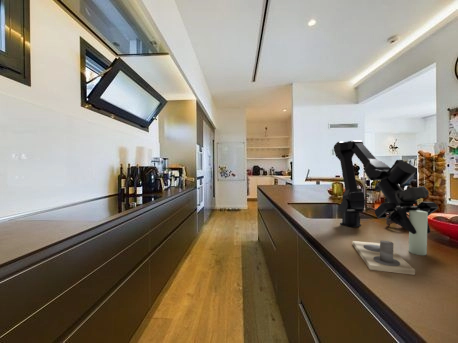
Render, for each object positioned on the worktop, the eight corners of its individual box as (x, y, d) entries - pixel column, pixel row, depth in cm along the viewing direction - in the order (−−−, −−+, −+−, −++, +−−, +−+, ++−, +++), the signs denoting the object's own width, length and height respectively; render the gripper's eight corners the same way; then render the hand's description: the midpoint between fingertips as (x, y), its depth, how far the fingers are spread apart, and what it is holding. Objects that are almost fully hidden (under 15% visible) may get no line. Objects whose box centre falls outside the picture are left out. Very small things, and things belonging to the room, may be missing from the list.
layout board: (352, 244, 80) (352, 226, 79) (385, 247, 77) (386, 228, 76) (369, 269, 60) (370, 245, 60) (415, 274, 58) (415, 249, 57)
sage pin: (405, 251, 73) (406, 210, 73) (412, 249, 75) (413, 209, 75) (422, 256, 69) (423, 213, 69) (429, 253, 71) (430, 212, 71)
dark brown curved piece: (413, 234, 93) (400, 215, 95) (390, 238, 101) (379, 221, 102) (422, 222, 100) (410, 205, 101) (400, 227, 107) (389, 211, 109)
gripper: (381, 178, 74) (411, 220, 64) (433, 177, 76) (470, 218, 66) (364, 198, 82) (388, 238, 72) (411, 197, 84) (441, 237, 74)
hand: (422, 233), depth 71 cm, fingers closed on sage pin, 4 cm apart
